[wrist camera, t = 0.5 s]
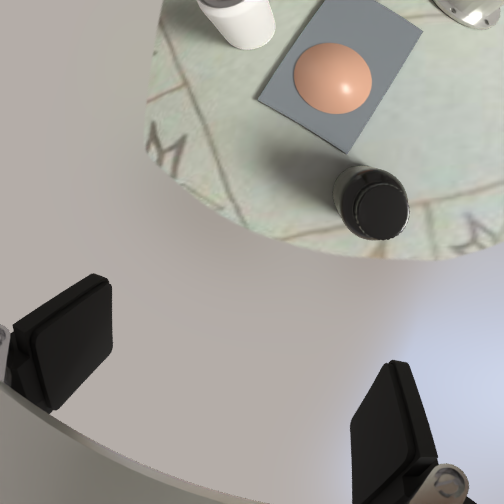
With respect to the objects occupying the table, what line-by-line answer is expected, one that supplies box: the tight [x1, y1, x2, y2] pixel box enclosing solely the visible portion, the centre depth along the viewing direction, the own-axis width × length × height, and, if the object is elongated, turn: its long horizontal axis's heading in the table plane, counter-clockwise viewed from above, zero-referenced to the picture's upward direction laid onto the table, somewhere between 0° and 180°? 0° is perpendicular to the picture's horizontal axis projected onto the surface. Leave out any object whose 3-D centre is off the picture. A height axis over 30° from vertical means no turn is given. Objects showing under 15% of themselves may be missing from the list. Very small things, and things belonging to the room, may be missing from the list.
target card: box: [258, 0, 423, 154], centre depth 30 cm, size 20×12×1 cm, turn 149°
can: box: [197, 0, 276, 50], centre depth 26 cm, size 6×6×12 cm
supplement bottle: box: [333, 166, 410, 240], centre depth 30 cm, size 7×7×12 cm
